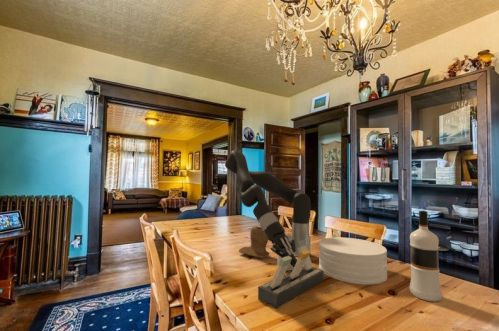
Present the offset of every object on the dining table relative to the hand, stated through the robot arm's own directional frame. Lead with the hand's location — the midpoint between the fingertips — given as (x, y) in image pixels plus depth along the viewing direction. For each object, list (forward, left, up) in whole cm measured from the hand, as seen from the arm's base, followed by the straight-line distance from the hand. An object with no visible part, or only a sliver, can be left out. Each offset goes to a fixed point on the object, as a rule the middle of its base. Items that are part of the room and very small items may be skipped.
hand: (296, 265), depth 86 cm
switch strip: (0, -2, -9) cm, 9 cm away
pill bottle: (-12, -19, -9) cm, 24 cm away
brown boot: (-11, -41, -9) cm, 43 cm away
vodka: (-36, +27, -9) cm, 47 cm away
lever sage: (+10, 0, -5) cm, 11 cm away
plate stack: (-36, -1, -10) cm, 37 cm away
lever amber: (0, -2, -5) cm, 5 cm away
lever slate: (-11, -4, -5) cm, 13 cm away
